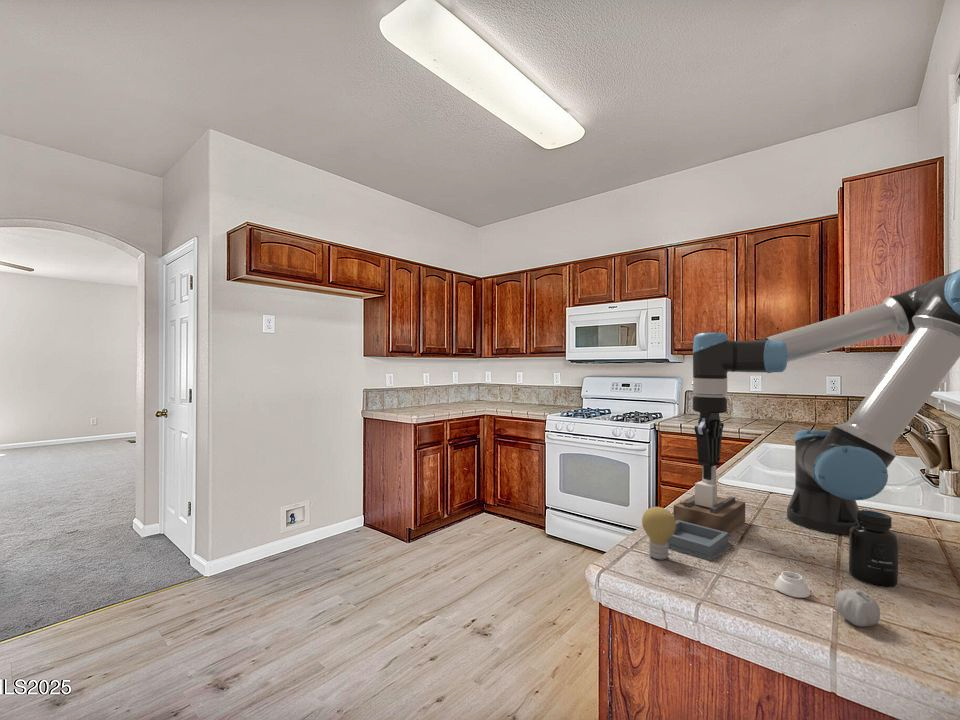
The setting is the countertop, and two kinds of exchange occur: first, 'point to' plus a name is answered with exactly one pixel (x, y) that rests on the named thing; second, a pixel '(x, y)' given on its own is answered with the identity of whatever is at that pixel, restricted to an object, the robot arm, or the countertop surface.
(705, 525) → the switch box
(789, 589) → the white conical ring
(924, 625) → the countertop surface
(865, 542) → the supplement bottle
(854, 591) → the garlic
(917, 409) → the robot arm
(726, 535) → the tray
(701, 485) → the toggle
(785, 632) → the countertop surface
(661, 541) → the light bulb
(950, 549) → the countertop surface
